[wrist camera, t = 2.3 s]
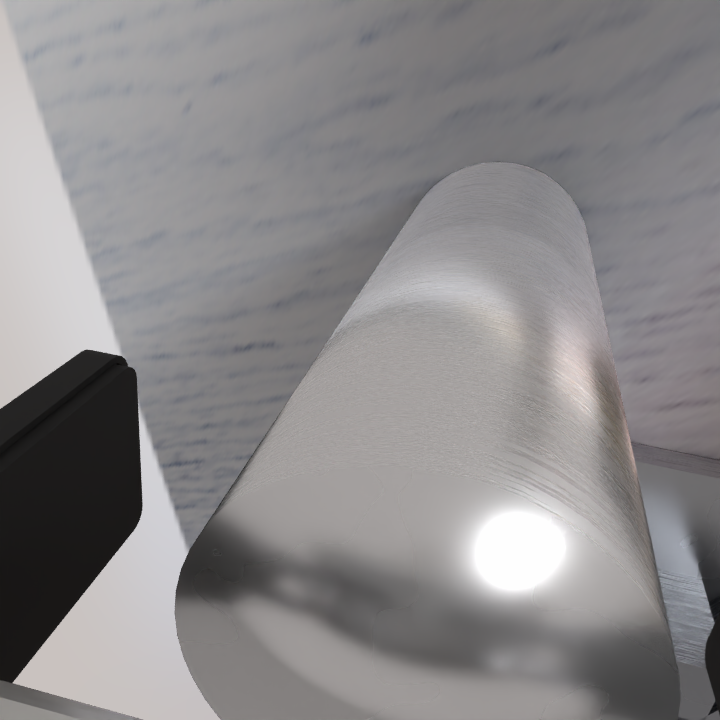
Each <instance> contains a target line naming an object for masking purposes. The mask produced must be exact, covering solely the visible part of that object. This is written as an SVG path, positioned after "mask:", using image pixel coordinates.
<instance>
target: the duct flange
mask: <svg viewBox="0 0 720 720" xmlns="http://www.w3.org/2000/svg"><path fill="white" fill-rule="evenodd" d="M631 445H632V450H633V455H634V459H635V464H636V469H637V474H638V479H639V483H640V488H641V493H642V498H643V502H644V507H645V512H646V517H647V522H648V526H649V531H650V536H651V541H652V545H653V550H654V555H655V560H656V565H657V569H658V574H659V579H660V584H661V589H662V593H663V598H664V603H665V608H666V612H667V617H668V622H669V627H670V632H671V636H672V641H673V646H674V651H675V655H676V660H677V665H678V670H679V677H680V696H681V701H680V708H679V715H678V720H720V715H719V711H718V708H717V704H716V701H715V697H714V694H713V690H712V687H711V683H710V680H709V676H708V673H707V669H706V664H705V647H706V642H707V639H708V637H709V634H710V632H711V630H712V628H713V626H714V623H715V621H716V619H717V617H718V615H719V613H720V460H715V459H710V458H705V457H700V456H696V455H691V454H686V453H681V452H676V451H671V450H666V449H661V448H657V447H652V446H647V445H642V444H637V443H632V442H631Z"/></svg>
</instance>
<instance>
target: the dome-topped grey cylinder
mask: <svg viewBox="0 0 720 720" xmlns="http://www.w3.org/2000/svg"><path fill="white" fill-rule="evenodd" d="M175 619H176V628H177V636H178V639H179V643H180V646H181V650H182V653H183V657H184V659H185V662H186V664H187V666H188V668H189V671H190V673H191V675H192V678H193V679H194V681H195V683H196V685H197V686H198V688H199V689H200V691H201V693H202V695H203V696H204V698H205V700H206V701H207V702H208V704H209V705H210V706H211V708H212V709H213V710H214V712H215V713H216V714H217V716H218V717H219V718H220V719H221V720H678V715H679V708H680V701H681V696H680V677H679V670H678V665H677V660H676V655H675V651H674V646H673V641H672V636H671V632H670V627H669V622H668V617H667V612H666V608H665V603H664V598H663V593H662V589H661V584H660V579H659V574H658V569H657V565H656V560H655V555H654V550H653V545H652V541H651V536H650V531H649V526H648V522H647V517H646V512H645V507H644V502H643V498H642V493H641V488H640V483H639V479H638V474H637V469H636V464H635V459H634V455H633V450H632V445H631V440H630V435H629V431H628V426H627V421H626V416H625V412H624V407H623V402H622V397H621V392H620V388H619V383H618V378H617V373H616V369H615V364H614V359H613V354H612V349H611V345H610V340H609V335H608V330H607V325H606V321H605V316H604V311H603V306H602V302H601V297H600V292H599V287H598V282H597V278H596V273H595V268H594V263H593V259H592V254H591V249H590V244H589V239H588V235H587V230H586V226H585V222H584V220H583V217H582V215H581V212H580V210H579V209H578V207H577V205H576V204H575V202H574V200H573V199H572V198H571V197H570V195H569V194H568V193H567V191H566V190H564V189H563V188H562V187H561V186H560V185H559V184H558V183H557V182H556V181H554V180H553V179H551V178H550V177H549V176H547V175H545V174H543V173H541V172H540V171H538V170H536V169H533V168H530V167H527V166H525V165H520V164H516V163H510V162H485V163H480V164H475V165H471V166H468V167H465V168H462V169H460V170H458V171H456V172H454V173H451V174H450V175H448V176H447V177H445V178H443V179H442V180H440V181H439V182H438V183H437V184H436V185H434V186H433V187H432V188H431V189H430V190H429V191H428V192H427V193H426V195H425V196H424V197H423V198H422V200H421V201H420V202H419V204H418V205H417V207H416V208H415V210H414V211H413V213H412V214H411V216H410V217H409V219H408V220H407V222H406V223H405V225H404V226H403V228H402V230H401V231H400V233H399V234H398V236H397V237H396V239H395V240H394V242H393V243H392V245H391V246H390V248H389V249H388V251H387V252H386V254H385V255H384V257H383V258H382V260H381V261H380V263H379V264H378V266H377V267H376V269H375V270H374V272H373V273H372V275H371V276H370V278H369V279H368V281H367V282H366V284H365V285H364V287H363V288H362V290H361V292H360V293H359V295H358V296H357V298H356V299H355V301H354V302H353V304H352V305H351V307H350V308H349V310H348V311H347V313H346V314H345V316H344V317H343V319H342V320H341V322H340V323H339V325H338V326H337V328H336V329H335V331H334V332H333V334H332V335H331V337H330V338H329V340H328V341H327V343H326V344H325V346H324V347H323V349H322V350H321V352H320V353H319V355H318V357H317V358H316V360H315V361H314V363H313V364H312V366H311V367H310V369H309V370H308V372H307V373H306V375H305V376H304V378H303V379H302V381H301V382H300V384H299V385H298V387H297V388H296V390H295V391H294V393H293V394H292V396H291V397H290V399H289V400H288V402H287V403H286V405H285V406H284V408H283V409H282V411H281V412H280V414H279V415H278V417H277V419H276V420H275V422H274V423H273V425H272V426H271V428H270V429H269V431H268V432H267V434H266V435H265V437H264V438H263V440H262V441H261V443H260V444H259V446H258V447H257V449H256V450H255V452H254V453H253V455H252V456H251V458H250V459H249V461H248V462H247V464H246V465H245V467H244V468H243V470H242V471H241V473H240V474H239V476H238V477H237V479H236V480H235V482H234V484H233V485H232V487H231V488H230V490H229V491H228V493H227V494H226V496H225V497H224V499H223V500H222V502H221V503H220V505H219V506H218V508H217V509H216V511H215V512H214V514H213V515H212V517H211V518H210V520H209V521H208V523H207V524H206V526H205V527H204V529H203V530H202V532H201V533H200V535H199V536H198V538H197V539H196V541H195V542H194V544H193V546H192V547H191V549H190V550H189V553H188V555H187V557H186V560H185V562H184V564H183V566H182V568H181V572H180V576H179V581H178V584H177V589H176V599H175Z"/></svg>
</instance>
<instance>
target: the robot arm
mask: <svg viewBox="0 0 720 720" xmlns="http://www.w3.org/2000/svg"><path fill="white" fill-rule="evenodd" d="M141 513H142V485H141V463H140V440H139V417H138V395H137V377H136V372H135V370H134V369H133V368H131V367H128V364H127V362H126V360H125V359H124V358H123V357H122V356H118V355H112V354H108V353H103V352H97V351H93V350H84V351H82V352H81V353H79V354H78V355H76V356H75V357H73V358H72V359H71V360H69V361H68V362H66V363H65V364H64V365H62V366H61V367H59V368H58V369H56V370H55V371H54V372H52V373H51V374H49V375H48V376H47V377H45V378H44V379H42V380H41V381H39V382H38V383H37V384H35V385H34V386H32V387H31V388H30V389H28V390H27V391H25V392H24V393H22V394H21V395H20V396H18V397H17V398H15V399H14V400H13V401H11V402H10V403H8V404H7V405H6V406H4V407H3V408H1V409H0V720H142V719H139V718H135V717H132V716H128V715H124V714H121V713H117V712H113V711H110V710H106V709H102V708H99V707H96V706H92V705H88V704H84V703H81V702H78V701H74V700H70V699H67V698H63V697H59V696H56V695H52V694H49V693H45V692H41V691H38V690H34V689H31V688H27V687H24V686H20V685H16V684H13V681H14V680H15V679H16V678H17V676H18V675H19V674H20V673H21V671H22V670H23V668H25V666H26V665H27V664H28V662H29V661H30V660H31V659H32V657H33V656H34V655H35V654H36V652H37V651H38V650H39V648H40V647H41V646H42V645H43V644H44V642H45V641H46V640H47V639H48V637H49V636H50V635H51V634H52V632H53V631H54V630H55V629H56V627H57V626H58V625H59V624H60V622H61V621H62V620H63V619H64V617H65V616H66V615H67V614H68V612H69V611H70V610H71V609H72V607H73V606H74V605H75V603H76V602H77V601H78V600H79V598H80V597H81V596H82V595H83V593H84V592H85V591H86V590H87V588H88V587H89V586H90V585H91V583H92V582H93V581H94V580H95V578H96V577H97V576H98V574H99V573H100V572H101V571H102V570H103V568H104V567H105V566H106V565H107V563H108V562H109V561H110V560H111V558H112V557H113V556H114V555H115V553H116V552H117V551H118V550H119V548H120V547H121V546H122V544H123V543H124V542H125V540H126V539H127V538H128V537H129V536H130V534H131V533H132V532H133V531H134V529H135V528H136V526H137V524H138V522H139V520H140V516H141ZM705 664H706V669H707V673H708V676H709V680H710V683H711V687H712V690H713V694H714V697H715V701H716V704H717V708H718V711H719V715H720V613H719V615H718V617H717V619H716V621H715V623H714V626H713V628H712V630H711V632H710V634H709V637H708V639H707V642H706V647H705Z"/></svg>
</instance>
